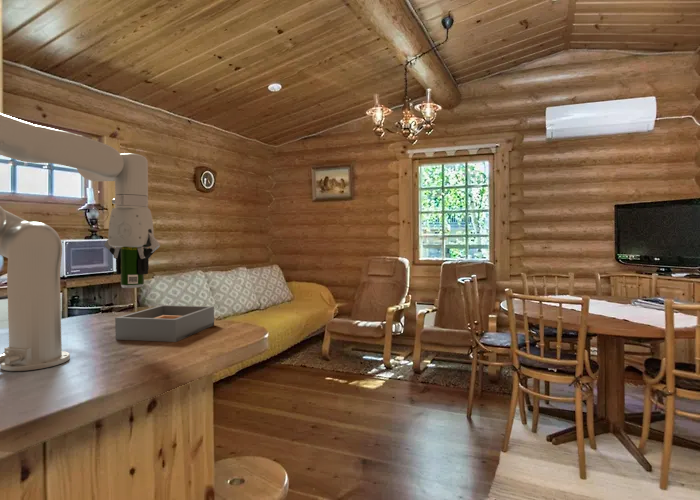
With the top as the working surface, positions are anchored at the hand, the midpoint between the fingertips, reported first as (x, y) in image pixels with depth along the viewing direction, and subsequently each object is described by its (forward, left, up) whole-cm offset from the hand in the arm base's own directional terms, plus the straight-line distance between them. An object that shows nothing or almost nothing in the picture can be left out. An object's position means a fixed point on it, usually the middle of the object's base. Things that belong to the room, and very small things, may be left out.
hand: (132, 273), depth 111 cm
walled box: (+17, +1, -19) cm, 26 cm away
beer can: (0, 0, -4) cm, 4 cm away
